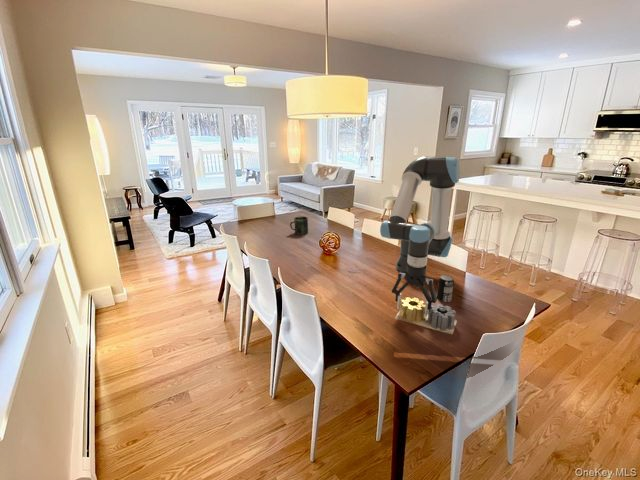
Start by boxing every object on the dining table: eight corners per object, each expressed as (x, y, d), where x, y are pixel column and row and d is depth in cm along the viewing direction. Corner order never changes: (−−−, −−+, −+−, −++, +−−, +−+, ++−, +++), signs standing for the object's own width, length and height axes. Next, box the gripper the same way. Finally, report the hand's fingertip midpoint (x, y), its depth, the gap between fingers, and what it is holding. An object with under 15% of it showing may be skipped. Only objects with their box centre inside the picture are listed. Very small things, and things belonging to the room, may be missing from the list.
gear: (425, 315, 135) (427, 301, 133) (450, 317, 134) (452, 302, 131) (430, 329, 126) (431, 314, 123) (456, 331, 124) (458, 316, 122)
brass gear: (404, 307, 142) (405, 295, 140) (426, 313, 137) (428, 300, 135) (397, 318, 134) (398, 305, 132) (421, 324, 129) (422, 312, 127)
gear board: (402, 308, 143) (402, 298, 141) (456, 322, 132) (458, 311, 130) (394, 320, 134) (395, 310, 132) (452, 337, 123) (453, 325, 121)
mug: (310, 233, 248) (310, 219, 244) (292, 236, 243) (292, 221, 239) (305, 230, 257) (305, 215, 253) (288, 232, 252) (287, 217, 248)
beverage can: (439, 295, 154) (442, 273, 150) (453, 299, 150) (456, 276, 146) (434, 301, 149) (437, 277, 145) (448, 305, 145) (451, 281, 141)
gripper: (385, 261, 130) (382, 308, 137) (445, 273, 119) (438, 324, 126) (391, 255, 136) (388, 300, 143) (449, 266, 125) (442, 314, 132)
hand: (412, 311), depth 135 cm, fingers open, 11 cm apart
